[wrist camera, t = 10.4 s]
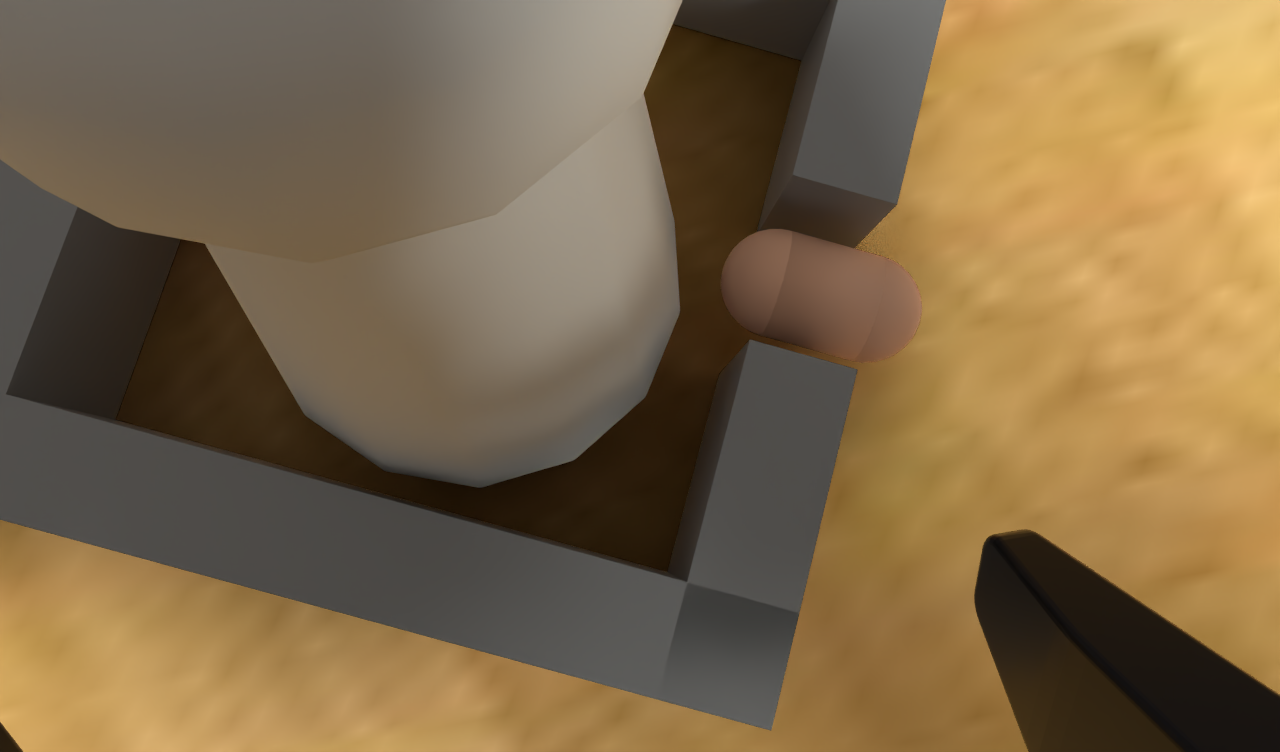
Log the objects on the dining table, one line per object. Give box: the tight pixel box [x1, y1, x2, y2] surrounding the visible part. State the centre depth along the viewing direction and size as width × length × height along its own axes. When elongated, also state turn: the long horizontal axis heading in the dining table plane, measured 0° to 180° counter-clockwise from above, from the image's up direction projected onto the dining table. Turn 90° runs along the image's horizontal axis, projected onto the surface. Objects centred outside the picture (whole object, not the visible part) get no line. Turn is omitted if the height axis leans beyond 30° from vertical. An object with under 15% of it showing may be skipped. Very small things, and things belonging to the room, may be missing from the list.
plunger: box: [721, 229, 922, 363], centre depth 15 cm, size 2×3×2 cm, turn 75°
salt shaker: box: [0, 0, 682, 488], centre depth 10 cm, size 6×6×13 cm
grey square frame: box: [0, 0, 946, 730], centre depth 15 cm, size 12×12×3 cm
